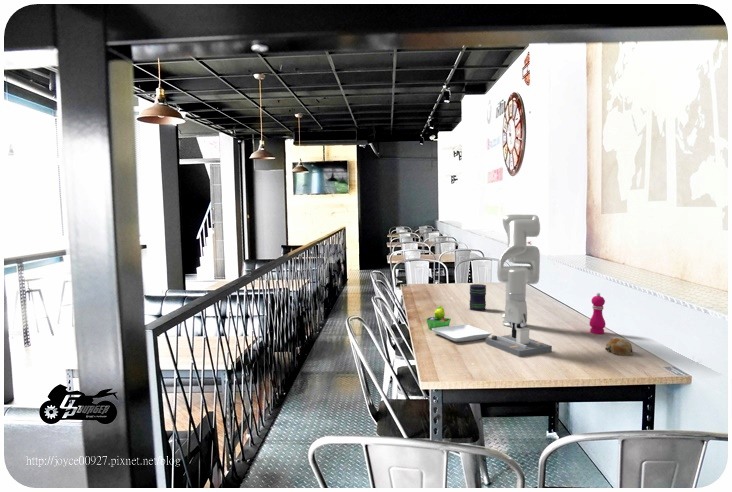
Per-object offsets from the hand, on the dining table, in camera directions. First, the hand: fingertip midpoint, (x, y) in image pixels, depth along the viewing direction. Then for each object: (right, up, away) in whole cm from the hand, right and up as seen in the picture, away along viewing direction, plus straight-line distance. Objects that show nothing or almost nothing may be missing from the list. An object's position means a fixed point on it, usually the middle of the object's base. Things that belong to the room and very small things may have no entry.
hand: (515, 337), depth 214 cm
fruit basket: (-29, -2, +34) cm, 45 cm away
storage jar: (+2, +1, +82) cm, 82 cm away
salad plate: (-21, -4, +18) cm, 28 cm away
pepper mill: (+48, -3, +25) cm, 54 cm away
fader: (+2, -2, -4) cm, 5 cm away
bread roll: (+42, -5, -8) cm, 43 cm away
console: (+1, -4, -1) cm, 4 cm away
